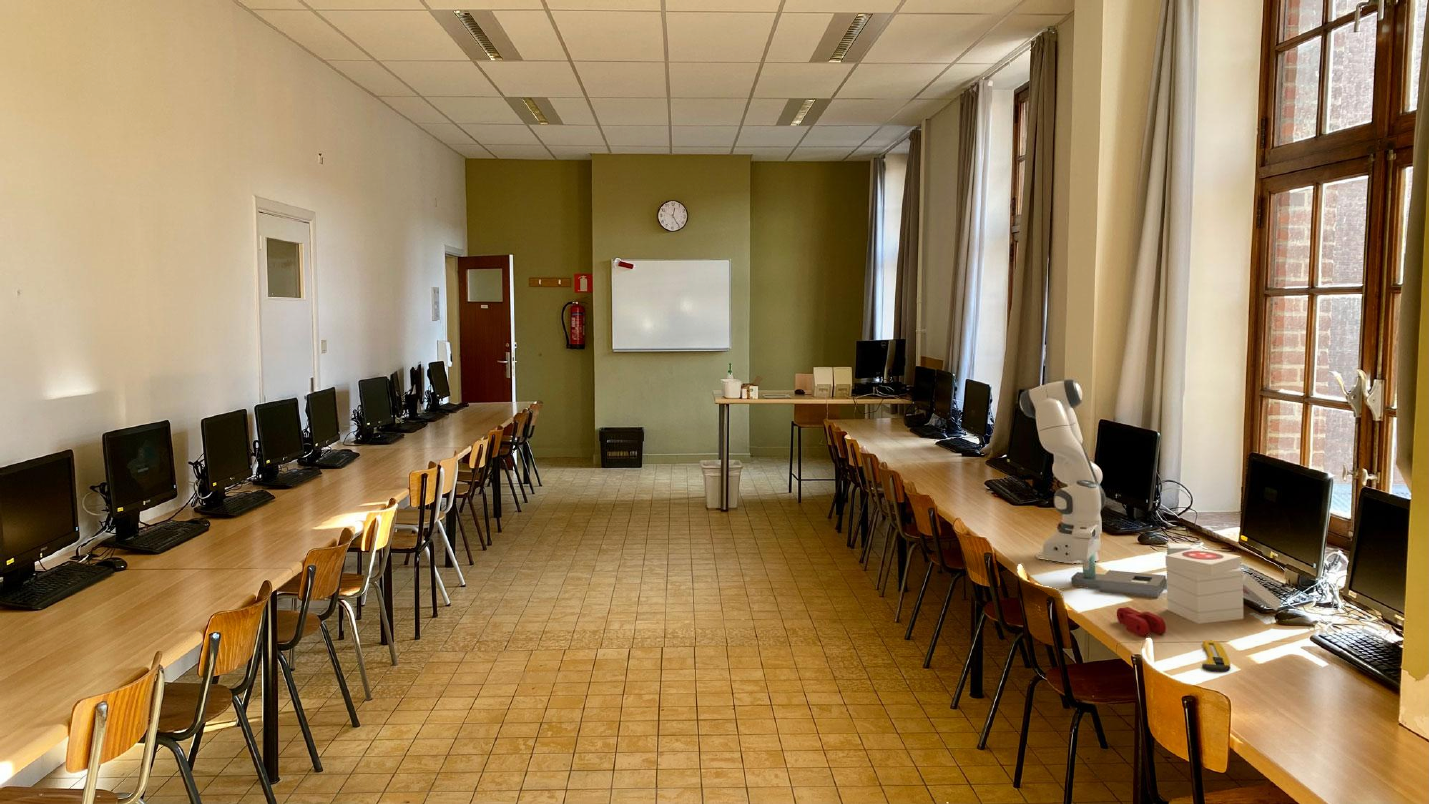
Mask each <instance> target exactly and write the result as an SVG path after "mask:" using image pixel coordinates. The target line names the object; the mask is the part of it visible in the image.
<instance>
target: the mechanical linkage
mask: <svg viewBox="0 0 1429 804" xmlns="http://www.w3.org/2000/svg"><path fill="white" fill-rule="evenodd" d="M1116 618H1117V621H1118V622H1119V623H1120V624H1121V625H1124V626H1126V631H1128V632H1129V633H1132V634H1134V635H1136V636H1138V637H1140V638H1144V637H1148V636H1149V635H1150V633H1153V634H1155V635H1164V634H1165V633H1166V630H1167V626H1166V625H1167V624H1166V622H1165V620H1164V618H1162V616H1158V615H1156V614H1155V613H1152V612H1150V611H1143V612H1141V611H1138V610H1135V609H1133V608H1131V607H1129V606H1125V607H1119V608H1117V610H1116Z"/></svg>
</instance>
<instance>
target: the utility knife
mask: <svg viewBox="0 0 1429 804" xmlns="http://www.w3.org/2000/svg"><path fill="white" fill-rule="evenodd" d="M1202 641H1203V642H1202V644H1203V647H1202V648H1203V650H1204V651H1206V654H1207V656H1208V659H1207V660H1205V661H1204V662H1202V663H1201V666H1202V669H1203V670H1205V671H1209V672H1214V673H1223V672H1224V673H1225V672H1229V671H1230V670H1231V662H1230V659H1229V657H1228V654H1227V652H1226V651H1225V649H1224V647H1223V645H1222V644H1221V643H1220V642H1219V641H1215V640H1211V639H1209V640H1208V639H1206V640H1202Z"/></svg>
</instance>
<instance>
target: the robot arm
mask: <svg viewBox="0 0 1429 804" xmlns="http://www.w3.org/2000/svg"><path fill="white" fill-rule="evenodd" d="M1082 401H1083V390H1082V387H1081V386H1080V384H1079V383H1078V382H1077V381H1076V380H1074V379H1064V380H1061V381H1059V380H1058V381H1055V382H1054V381H1053V382H1048V383H1046V384H1043V385H1039V386H1036V387H1034V388H1029V389H1026V390H1025V391H1022V392H1021V393H1020V397H1019V406H1020V409H1021V411H1022V412H1023V414H1024V415H1025V416H1026V417H1029V418H1033V419H1035V422H1036V429H1037V433H1038V439H1039V442H1040V444H1041V446H1042V447H1043V449H1045V450H1046V451H1047V452H1048V453H1050V454H1053V464H1052V466H1051V467H1052V468H1051V469H1052V474H1053V476H1054V477H1055V478H1056V479H1057V480H1058V481H1059V482H1061V483H1063V484H1065V485H1067V486H1065V487H1061V488H1059V489H1057V490H1056V491H1055V493H1054V496H1053V506H1054V508H1055V510H1056V511H1057V512H1058V513H1059V514H1061V515H1062V520H1059V522H1058V523H1057V525H1056V529H1057V531H1056V532H1055V533H1053V534H1052V535H1050V536H1049V537H1048V538H1047V539H1045V540H1044V541H1043V545H1042V550H1041V551H1039V552H1038V553H1037V554H1036V556H1037V557H1038V558H1044V559H1048V560H1052V561H1060V562H1065V563H1064V564H1066V563H1080V564H1082V565H1083V564H1084V569H1085V570H1089V569H1090V564H1089V560H1090V557H1091V556H1092V555H1093V554H1094V553H1095V561H1096V562H1098V561H1099V560H1100V558H1099V554H1098V551H1099V550H1100V549H1101V545H1102V543H1101V541H1102V540H1101V535H1102V534H1103V529H1102V524H1103V523H1102V516H1101V511H1102V510H1103V508H1104V507H1105V505H1106V502H1107V497H1106V493H1105V491H1104V489H1103V488H1102V486H1101V482H1102V481H1103V472H1102V469H1101V468H1100V467H1099V466H1098V465H1097V464H1096V463H1094V462H1093V461H1091V460H1090V457H1089V456H1088V453H1087V451H1086V448H1085V447H1084V445H1083V441H1084V439H1083V435H1082V431H1081V427H1080V425H1079V422H1078V418H1077V415H1076V412H1075V411H1074V410H1075V409H1076V407H1079V406H1080V405H1081V404H1082ZM1052 561H1051V562H1052Z"/></svg>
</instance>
